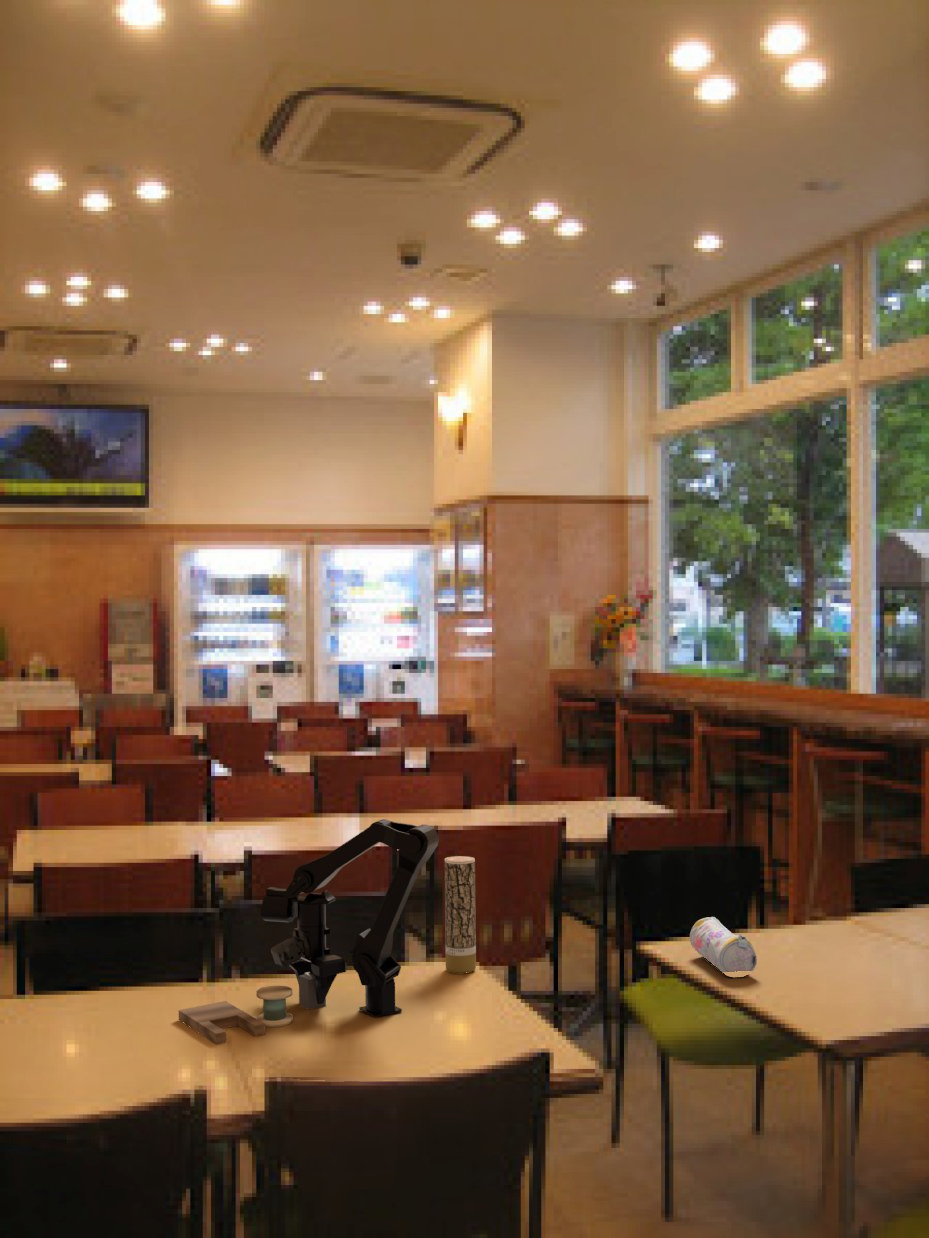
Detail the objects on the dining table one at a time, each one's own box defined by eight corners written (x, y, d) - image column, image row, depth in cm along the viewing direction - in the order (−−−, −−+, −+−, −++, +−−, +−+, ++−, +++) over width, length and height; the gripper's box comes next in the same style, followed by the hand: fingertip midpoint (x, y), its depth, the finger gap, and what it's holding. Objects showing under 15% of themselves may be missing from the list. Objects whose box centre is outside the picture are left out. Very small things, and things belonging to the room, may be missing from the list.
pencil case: (758, 979, 277) (758, 935, 277) (720, 981, 276) (720, 937, 276) (723, 954, 298) (722, 914, 298) (687, 956, 296) (687, 915, 296)
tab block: (325, 1006, 261) (325, 975, 261) (308, 1009, 258) (308, 978, 258) (316, 1001, 264) (315, 970, 264) (299, 1004, 262) (298, 974, 262)
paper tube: (472, 975, 282) (471, 862, 282) (442, 974, 283) (441, 861, 283) (478, 967, 289) (477, 856, 289) (449, 965, 290) (448, 855, 290)
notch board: (265, 1034, 243) (265, 1023, 243) (216, 1044, 237) (216, 1033, 237) (225, 1010, 258) (225, 1001, 258) (178, 1020, 252) (178, 1010, 252)
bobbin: (298, 1022, 250) (298, 991, 250) (266, 1029, 246) (266, 998, 246) (282, 1013, 256) (282, 983, 256) (250, 1020, 252) (250, 989, 252)
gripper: (255, 920, 264) (256, 996, 264) (297, 938, 249) (298, 1018, 249) (303, 913, 271) (304, 987, 271) (347, 930, 255) (348, 1008, 255)
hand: (312, 1000), depth 261 cm, fingers open, 6 cm apart
